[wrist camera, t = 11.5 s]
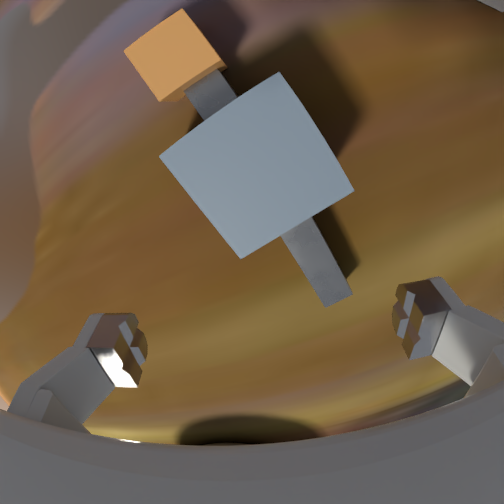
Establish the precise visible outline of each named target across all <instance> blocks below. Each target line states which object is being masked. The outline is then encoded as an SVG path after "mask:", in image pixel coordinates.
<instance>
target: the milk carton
mask: <svg viewBox="0 0 504 504" xmlns="http://www.w3.org/2000/svg"><path fill="white" fill-rule="evenodd" d="M478 1H480V2H482V3H484V4H486V5H488V6H490V7H492V8H495V9H496V10H498V11H500V12H504V0H478Z"/></svg>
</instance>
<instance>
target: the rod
mask: <svg viewBox="0 0 504 504" xmlns="http://www.w3.org/2000/svg"><path fill="white" fill-rule="evenodd" d="M184 93H185V94H186V96H187V97H188V98H189V100H190V101H191V103H192V104H193V105H194V107H195V108H196V110H197V111H198V113H199V114H200V116H201V117H202V118H203V120H204V121H205V120H206V119H208V118H209V117H211V116H212V115H213V114H215V113H216V112H218V111H219V110H220V109H222V108H223V107H225V106H226V105H228V104H229V103H231V102H232V101H233V100H235V99H236V98H238V95H237V94H236V92H235V91H234V89H233V88H232V87H231V85H230V84H229V82H228V81H227V79H226V78H225V76H224V75H223V74H222V72H221V71H220V70H218V69H216V70H214V71H213V72H211V73H210V74H208V75H207V76H205V77H203V78H202V79H200V80H199V81H197V82H196V83H194V84H193V85H191V86H190V87H188V88H187V89H186V90H184ZM280 236H281V237H282V239H283V240H284V242H285V244H286V245H287V247H288V248H289V250H290V252H291V253H292V255H293V256H294V258H295V259H296V261H297V263H298V264H299V266H300V267H301V269H302V271H303V272H304V274H305V276H306V277H307V279H308V280H309V282H310V284H311V285H312V287H313V288H314V290H315V292H316V293H317V295H318V297H319V298H320V300H321V302H322V303H323V305H324V306H325V308H326V307H328V306H330V305H332V304H334V303H336V302H338V301H340V300H342V299H344V298H346V297H348V296H350V295H352V291H351V289H350V287H349V284H348V282H347V280H346V278H345V276H344V274H343V272H342V270H341V268H340V266H339V264H338V262H337V260H336V258H335V256H334V255H333V253H332V251H331V249H330V247H329V245H328V243H327V242H326V240H325V238H324V236H323V234H322V232H321V231H320V229H319V227H318V225H317V223H316V222H315V220H314V218H313V216H312V217H310V218H308V219H307V220H305V221H303V222H302V223H300V224H298V225H297V226H295V227H293V228H292V229H290V230H288V231H287V232H285V233H283V234H282V235H280Z"/></svg>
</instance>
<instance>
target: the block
mask: <svg viewBox="0 0 504 504" xmlns="http://www.w3.org/2000/svg"><path fill="white" fill-rule="evenodd" d="M124 53H125V54H126V55H127V57H128V58H129V60H130V61H131V62H132V64H133V65H134V67H135V68H136V69H137V71H138V72H139V74H140V75H141V76H142V78H143V79H144V81H145V82H146V83H147V85H148V86H149V88H150V89H151V90H152V92H153V93H154V95H155V96H156V98H157V99H158V100H159V102H162V101H178V100H179V99H181V98H182V97H184V96H185V95H186V94H185V93H184V90H186V89H187V88H188V87H190V86H191V85H193V84H194V83H196V82H197V81H199V80H200V79H202V78H203V77H205V76H207V75H208V74H210V73H211V72H213V71H214V70H216V69H218V70H220V71H221V72H222V71H223V70H225V69H227V68H228V67H227V66H226V64H225V63H224V62H223V60H222V59H221V57H220V56H219V55H218V53H217V52H216V50H215V49H214V48H213V46H212V45H211V44H210V42H209V41H208V40H207V38H206V37H205V36H204V34H203V33H202V32H201V30H200V29H199V28H198V26H197V25H196V24H195V23H194V22H193V20H192V19H191V18H190V17H189V16H188V15H187V13H186V12H185V11H184V10H183V9H180V10H179V11H177V12H176V13H174V14H173V15H171V16H170V17H168V18H167V19H165V20H164V21H162V22H161V23H159V24H158V25H157V26H155V27H154V28H152V29H151V30H150V31H148V32H147V33H146V34H144V35H143V36H142V37H140V38H139V39H138V40H137V41H135V42H134V43H133V44H131V45H130V46H129V47H128V48H126V49H125V50H124Z"/></svg>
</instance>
